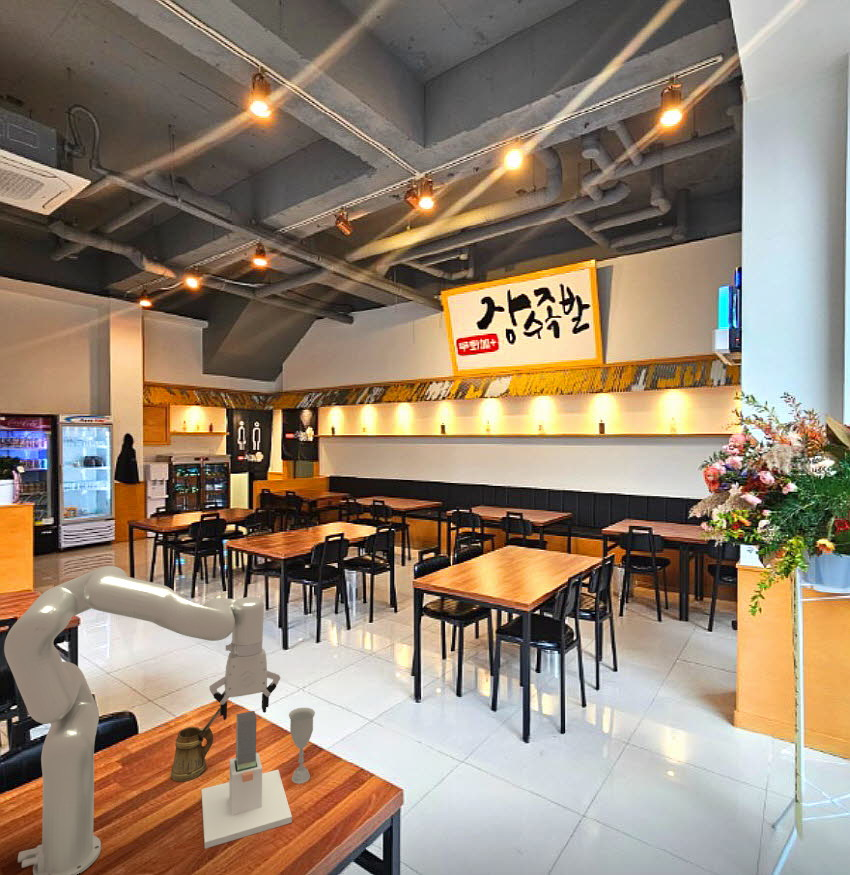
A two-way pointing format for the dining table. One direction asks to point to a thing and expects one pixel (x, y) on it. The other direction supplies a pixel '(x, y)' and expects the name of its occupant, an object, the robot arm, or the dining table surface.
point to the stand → (244, 805)
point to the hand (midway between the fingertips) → (244, 713)
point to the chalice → (301, 738)
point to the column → (246, 741)
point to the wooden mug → (191, 752)
